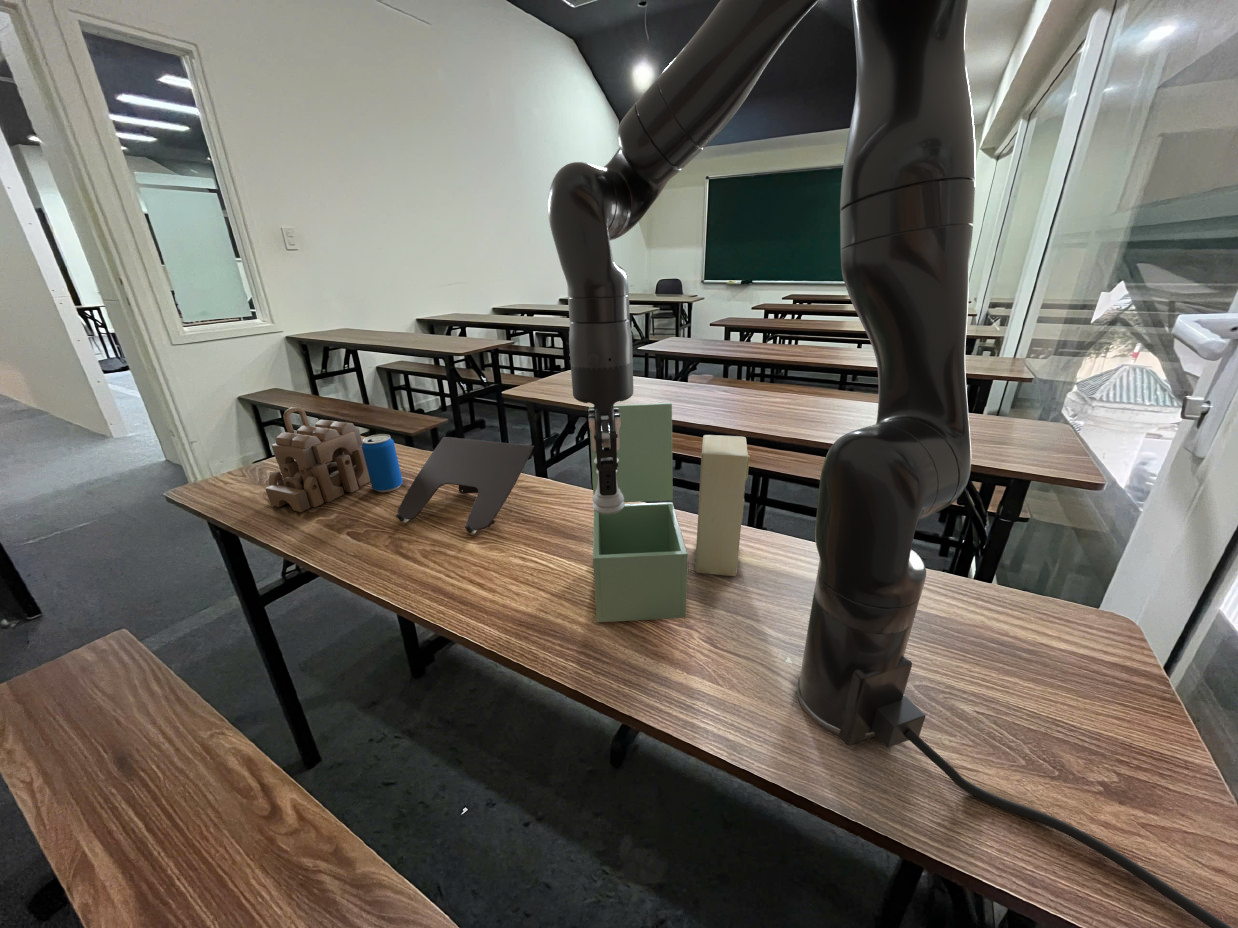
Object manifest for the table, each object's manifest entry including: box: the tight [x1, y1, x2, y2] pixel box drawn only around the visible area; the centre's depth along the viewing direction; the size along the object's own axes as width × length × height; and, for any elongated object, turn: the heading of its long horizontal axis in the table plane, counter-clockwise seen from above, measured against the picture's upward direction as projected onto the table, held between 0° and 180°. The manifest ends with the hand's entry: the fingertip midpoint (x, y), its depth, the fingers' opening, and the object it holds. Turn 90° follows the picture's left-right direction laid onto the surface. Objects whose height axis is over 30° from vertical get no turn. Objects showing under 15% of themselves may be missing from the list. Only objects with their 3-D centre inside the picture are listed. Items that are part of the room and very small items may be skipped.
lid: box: [588, 402, 674, 503], centre depth 77 cm, size 15×13×5 cm
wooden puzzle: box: [264, 406, 371, 513], centre depth 107 cm, size 22×15×19 cm, turn 158°
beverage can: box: [361, 433, 404, 493], centre depth 107 cm, size 6×6×12 cm
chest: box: [592, 501, 689, 623], centre depth 72 cm, size 15×13×11 cm
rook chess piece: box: [591, 455, 626, 515], centre depth 64 cm, size 4×4×8 cm
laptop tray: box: [395, 436, 535, 536], centre depth 100 cm, size 23×23×9 cm
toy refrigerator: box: [694, 434, 751, 577], centre depth 76 cm, size 8×7×21 cm
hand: (607, 486), depth 64 cm, fingers closed on rook chess piece, 3 cm apart
